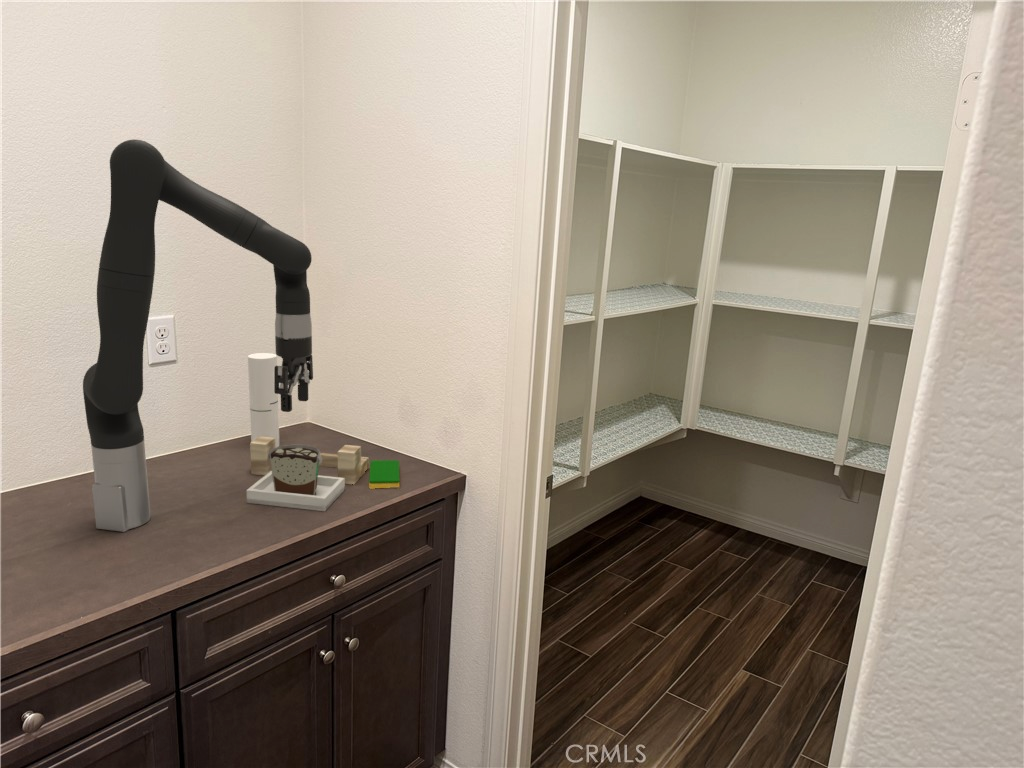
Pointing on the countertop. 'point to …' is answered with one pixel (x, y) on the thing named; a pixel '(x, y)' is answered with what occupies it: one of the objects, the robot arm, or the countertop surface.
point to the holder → (345, 461)
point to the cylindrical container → (263, 396)
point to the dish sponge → (384, 474)
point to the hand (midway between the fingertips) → (295, 405)
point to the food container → (295, 468)
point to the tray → (321, 501)
